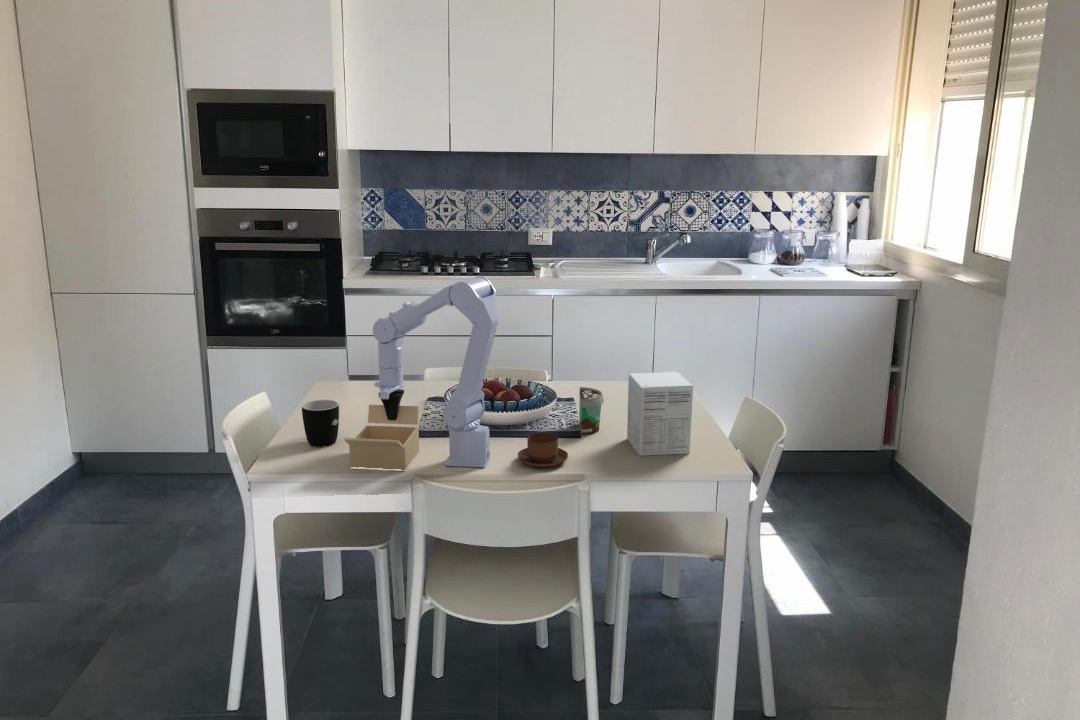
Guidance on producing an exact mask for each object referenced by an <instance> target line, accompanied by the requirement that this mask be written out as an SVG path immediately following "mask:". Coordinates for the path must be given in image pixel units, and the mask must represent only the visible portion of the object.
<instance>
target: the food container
mask: <svg viewBox="0 0 1080 720" xmlns="http://www.w3.org/2000/svg"><path fill="white" fill-rule="evenodd" d="M578 394H579V405H578V406H579V410H578V411H579V413H578V414H579V417H578V423H579V424H578V425H579V430H580V429H581V432H580V436H589V435H590V436H591V435H594V434H597V433H598V432H599V430H600V425H601V424H600V423H601V413H602V405H603V404H604V403H605V398H604V395H603V392H602V391H600V390H598V389H597V388H596V389H595V388H592V387H586V386H585V387H584V386H583V387H582V386H581V387H580V386H579V393H578Z"/></svg>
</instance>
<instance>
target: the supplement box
mask: <svg viewBox="0 0 1080 720" xmlns="http://www.w3.org/2000/svg"><path fill="white" fill-rule="evenodd" d="M627 385H628V390H627V428H626V429H627V430H626V437H627V441H628V443H630V445H631V446H632V448H633V449H634V451H635V453H637V455H638V456H640V457H641V456H660V455H661V456H663V455H664V456H665V455H667V456H669V455H686V454H688V453H689V454H690V451H691V449H690V448H691V433H692V411H693V397H694V396H693V392H694V385H693V384H692V383H691V382H690V381H688V380H687V379H686V377H684V376H683V375H682V374H681V373H680V372H678V371H666V372H663V371H662V372H661V371H660V372H633V373H628V384H627ZM689 454H688V455H689Z"/></svg>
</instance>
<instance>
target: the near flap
mask: <svg viewBox="0 0 1080 720" xmlns="http://www.w3.org/2000/svg"><path fill="white" fill-rule="evenodd" d="M343 440H344V441H345V442H346V443H347V444H348V446H349V445H354V446H379V447H403V445H402V444H401V443H400V441H399V440H385V439H360V438H356V437H344V438H343Z"/></svg>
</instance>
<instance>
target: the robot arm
mask: <svg viewBox="0 0 1080 720" xmlns="http://www.w3.org/2000/svg"><path fill="white" fill-rule="evenodd" d="M496 296H497V290H496V289H495V287H494V285H493V284H492V282H491V280H489V279H488V278H487V277H485V276H476V277H473V278H470V279H466V280H464V281H458V282H455V283H454V284H451V285H448V286H446V287H443V288H442V289H440V290H438V291H437V292H436V293H434V294H433V295H431V296H429V297H428V298H425V300H423V301H421V302H420V303H419V302H416V301H412V302H410V301H407V302H404V303H403V304H402V307H401V308H399V309H397V310H396V311H395V310H392V311H390V312H389V313H388V316H387V317H380V318H378V319H377V320H376V321H375V322H374V323H373V326H372V334H373V336H374V338H375V340H377V344H378V345H377V346H378V347H377V348H378V349H377V351H378V355H377V356H378V377H379V378H378V379H379V380H378V381H375V383H374V387H378V389H379V392H378V398H379V400H380V401H381V402H382V405H384V408H385V412H386V416H387V419H388V420H396V419H397V416H398V410H399V406H401V401H402V398H403V396H404V394H405V390H404V389H402V388H404V387H405V382H404V367H403V366H404V364H403V361H404V360H403V345H404V337H405V336H406V334H407V333H409V332H411V331H413V330H414V329H417V328H419V327H420V326H422V325H424V324H425V322H426V321H427V316H429V315H430V314H432V313H435V312H436V311H438V310H440V309H442V308H444V307H446V306H449V307H452V306H454V307H455V309H457V310H458V311H459V312H460V313H461V314H462V315H463V316H465V318H467V320H469V321H470V323H471V324H472V328H471V330H470V331H471V332H470V336H469V340H468V344H467V349H466V352H465V357H464V360H463V364H462V368H461V371H460V376H459V380H458V381H459V382H458V385H457V387H456V389H455V390H454V391H453V393H452V394H451V396H450V397H449V401H448V403H447V404H446V406H445V407H443V408H444V409H443V411H442V416H443V417H442V418H443V421H444V423H445V424H446V426H447V428H448V434H449V435H448V436H449V440H448V443H449V444H448V446H449V457H448V459H447V460H446V462H445V463H444V464H445V466H447V467H463V468H464V467H466V468H486V466H487V463H488V462H489V459H490V457H491V454H490V453H491V450H490V449H491V448H490V445H491V444H490V427H489V426H487V425H486V426H485V425H481V424H480V423H481V417H483V415H484V413H485V409H486V408H485V407H486V406H485V402H484V401H485V400H484V399H485V393H484V391H483V390H482V386H483V384H484V379H485V375H486V371H487V367H488V364H489V359H490V356H491V352H492V348H493V344H494V340H495V337H496V332H497V329H498V325H499V315H498V309H497V304H496Z"/></svg>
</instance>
